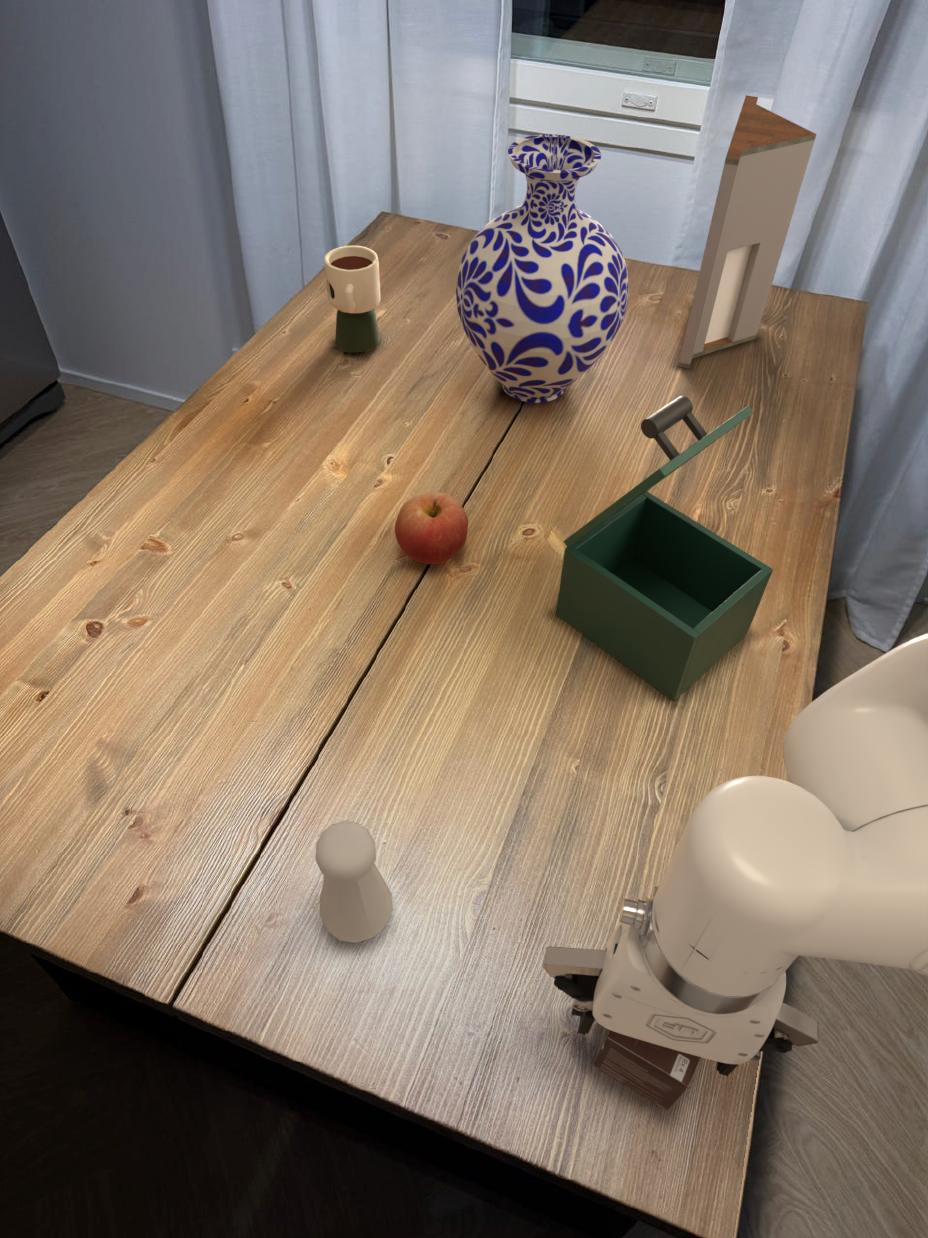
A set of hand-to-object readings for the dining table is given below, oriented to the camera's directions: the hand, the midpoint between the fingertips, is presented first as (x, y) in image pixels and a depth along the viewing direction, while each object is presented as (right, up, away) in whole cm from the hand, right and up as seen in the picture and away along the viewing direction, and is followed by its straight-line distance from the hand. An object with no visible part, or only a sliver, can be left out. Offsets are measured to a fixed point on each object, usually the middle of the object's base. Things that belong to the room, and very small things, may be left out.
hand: (653, 1032), depth 62 cm
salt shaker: (-22, +5, +10) cm, 25 cm away
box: (0, -3, +4) cm, 5 cm away
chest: (+6, +28, +31) cm, 43 cm away
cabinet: (+25, +71, +68) cm, 101 cm away
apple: (-17, +36, +38) cm, 55 cm away
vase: (-4, +61, +59) cm, 85 cm away
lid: (+4, +41, +20) cm, 46 cm away
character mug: (-28, +68, +65) cm, 98 cm away
